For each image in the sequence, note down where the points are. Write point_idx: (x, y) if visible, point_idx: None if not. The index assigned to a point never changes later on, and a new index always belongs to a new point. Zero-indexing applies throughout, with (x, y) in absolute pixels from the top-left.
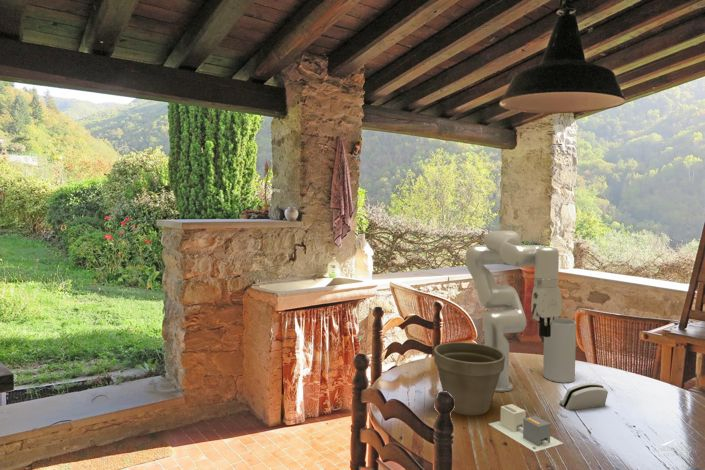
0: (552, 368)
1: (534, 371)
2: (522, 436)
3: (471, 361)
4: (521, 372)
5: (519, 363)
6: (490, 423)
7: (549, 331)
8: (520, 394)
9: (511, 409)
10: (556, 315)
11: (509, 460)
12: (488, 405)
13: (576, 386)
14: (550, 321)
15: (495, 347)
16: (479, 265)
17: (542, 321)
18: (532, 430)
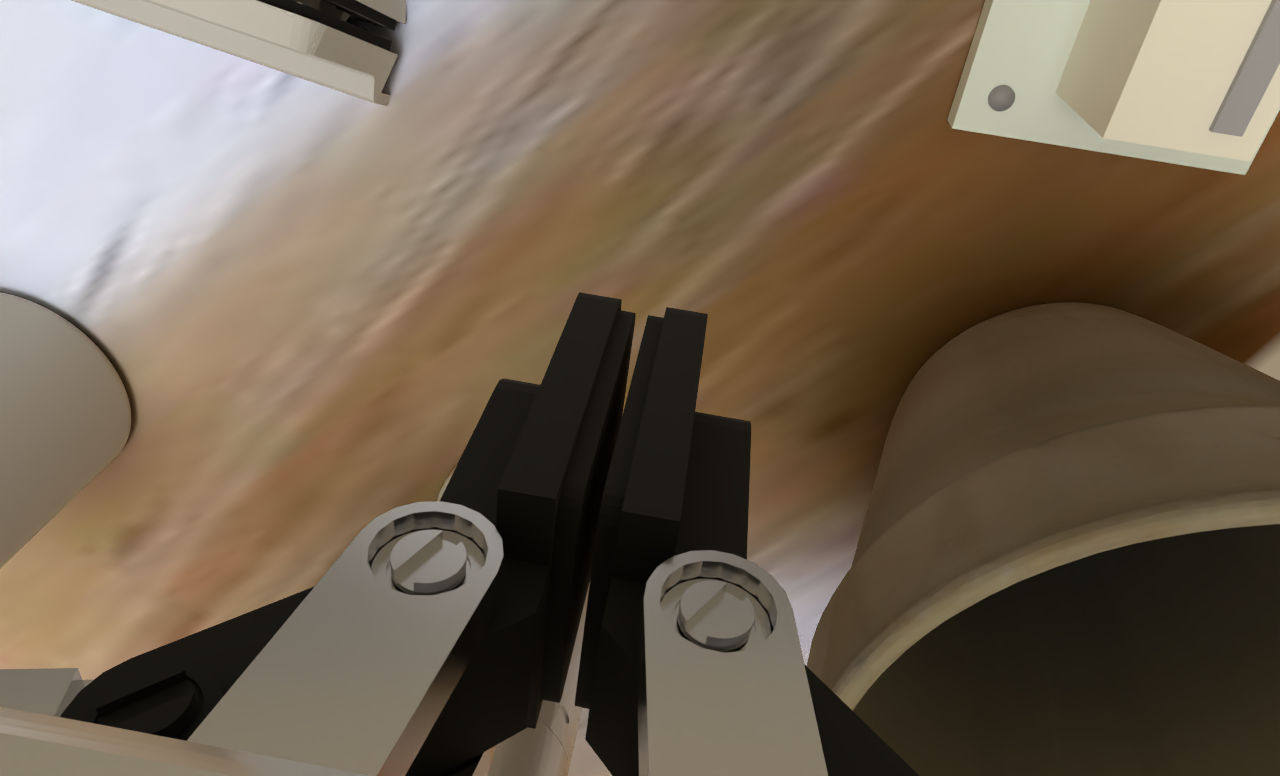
0: (57, 427)
1: (120, 521)
2: None
3: (887, 728)
4: (215, 554)
5: (125, 628)
6: (1224, 168)
7: (592, 377)
8: (503, 369)
9: (1273, 45)
10: (5, 754)
11: None
12: (1059, 320)
13: (218, 7)
14: (438, 624)
15: (538, 764)
16: None
17: (840, 773)
18: None
